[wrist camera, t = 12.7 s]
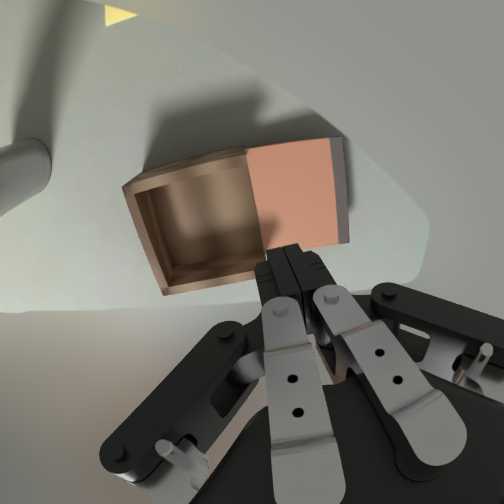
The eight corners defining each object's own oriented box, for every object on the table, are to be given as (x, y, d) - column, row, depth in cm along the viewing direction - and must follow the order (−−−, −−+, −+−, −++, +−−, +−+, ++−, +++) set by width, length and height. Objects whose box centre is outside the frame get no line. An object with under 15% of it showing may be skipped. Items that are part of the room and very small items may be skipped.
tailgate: (264, 254, 39) (349, 242, 37) (244, 150, 32) (341, 137, 30) (264, 249, 40) (347, 238, 38) (244, 148, 33) (339, 136, 31)
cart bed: (173, 264, 42) (163, 296, 35) (142, 171, 35) (121, 186, 28) (262, 246, 41) (269, 275, 34) (242, 146, 34) (245, 154, 27)
